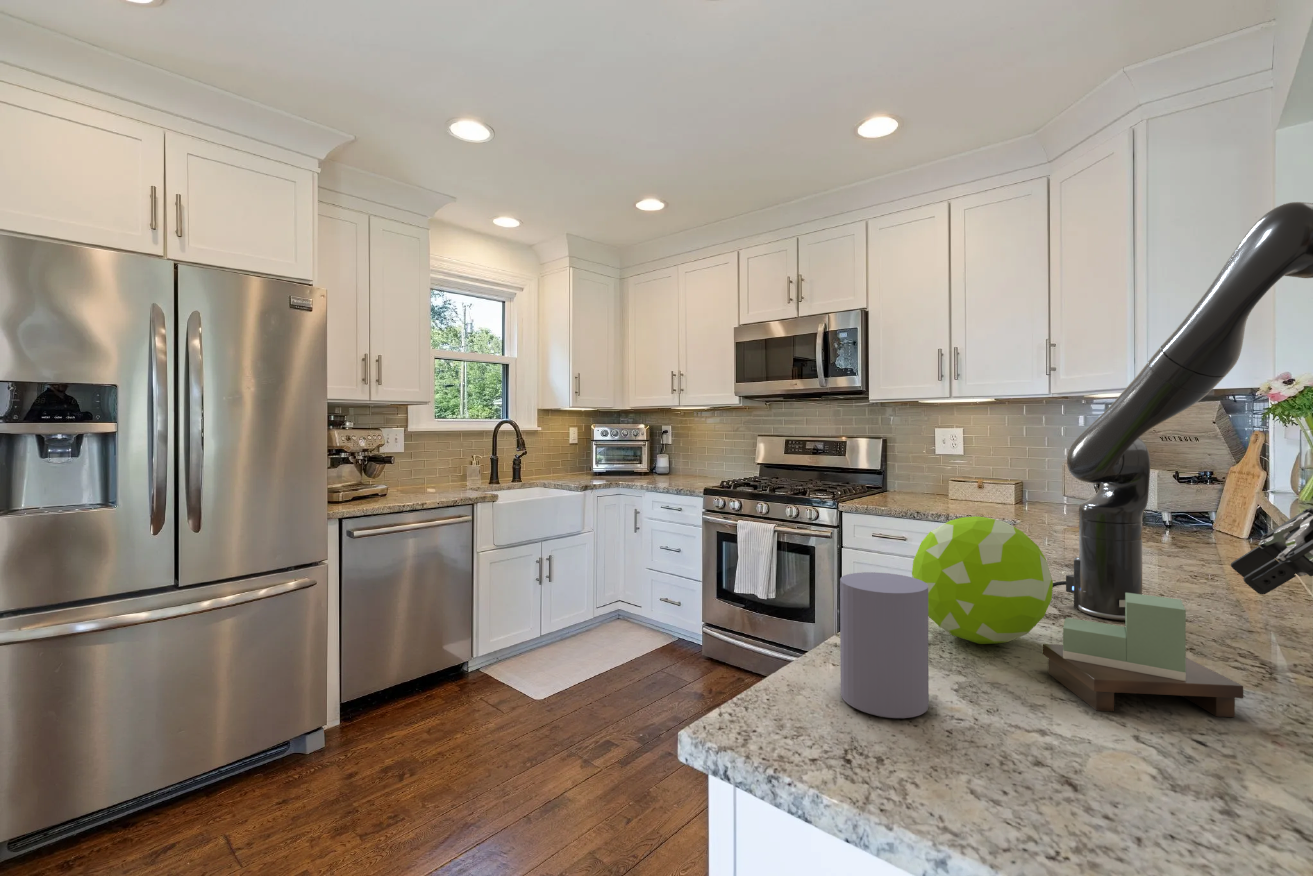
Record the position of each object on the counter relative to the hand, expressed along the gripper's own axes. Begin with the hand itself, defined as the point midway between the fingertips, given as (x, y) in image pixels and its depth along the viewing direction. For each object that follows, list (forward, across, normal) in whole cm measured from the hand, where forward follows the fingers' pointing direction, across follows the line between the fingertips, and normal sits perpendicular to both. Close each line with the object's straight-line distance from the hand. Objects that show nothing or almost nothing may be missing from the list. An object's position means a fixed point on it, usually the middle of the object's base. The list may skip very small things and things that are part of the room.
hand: (1244, 579), depth 69 cm
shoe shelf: (+19, -1, +4) cm, 19 cm away
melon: (+32, -12, -9) cm, 36 cm away
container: (+36, +20, -13) cm, 44 cm away
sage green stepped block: (+17, 0, +1) cm, 17 cm away
